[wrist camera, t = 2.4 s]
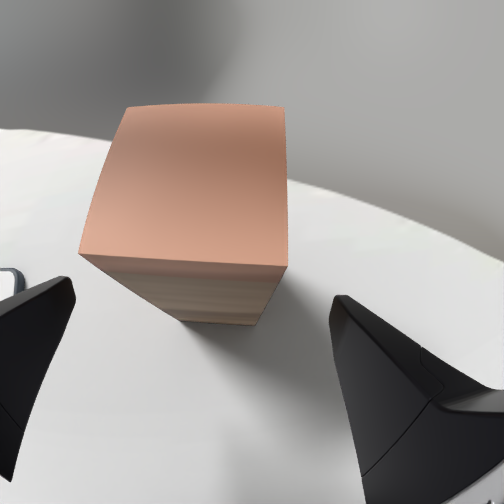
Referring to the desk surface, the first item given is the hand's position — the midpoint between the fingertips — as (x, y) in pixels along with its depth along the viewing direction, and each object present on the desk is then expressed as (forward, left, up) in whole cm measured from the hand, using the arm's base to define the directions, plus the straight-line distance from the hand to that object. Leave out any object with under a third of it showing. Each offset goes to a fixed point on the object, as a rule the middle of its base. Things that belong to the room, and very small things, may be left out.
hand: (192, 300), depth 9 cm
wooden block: (+2, -2, -10) cm, 10 cm away
